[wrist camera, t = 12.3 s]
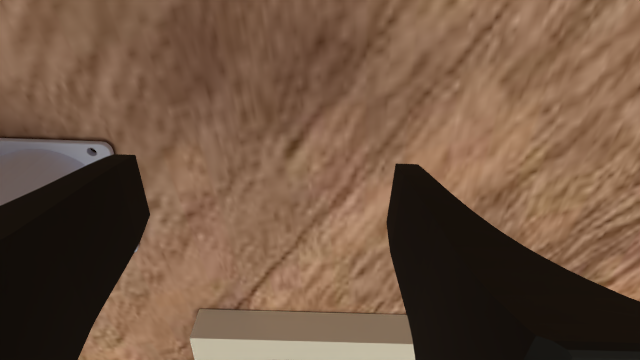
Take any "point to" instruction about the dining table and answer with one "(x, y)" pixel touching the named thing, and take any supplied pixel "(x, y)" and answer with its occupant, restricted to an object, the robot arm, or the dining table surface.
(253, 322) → the socket block
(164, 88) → the dining table surface
